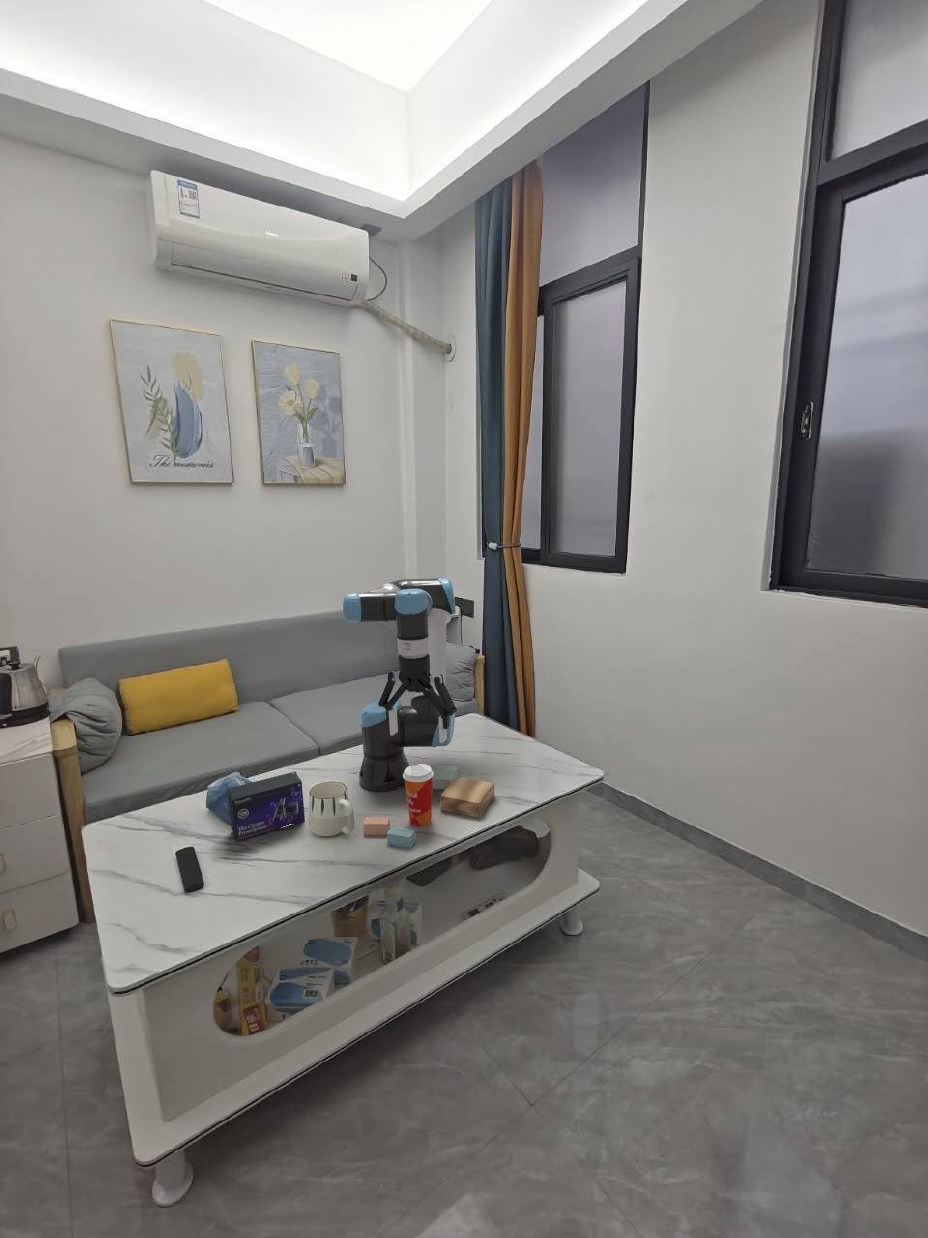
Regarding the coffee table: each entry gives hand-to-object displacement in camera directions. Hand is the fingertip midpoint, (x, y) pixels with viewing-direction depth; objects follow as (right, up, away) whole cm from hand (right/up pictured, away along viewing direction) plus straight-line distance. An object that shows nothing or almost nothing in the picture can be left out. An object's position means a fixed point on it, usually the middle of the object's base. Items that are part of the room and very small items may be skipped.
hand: (418, 737), depth 142 cm
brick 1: (-10, -24, +1) cm, 26 cm away
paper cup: (0, -22, +5) cm, 23 cm away
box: (-38, -24, +4) cm, 45 cm away
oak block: (+12, -20, +12) cm, 27 cm away
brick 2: (-4, -24, -4) cm, 25 cm away
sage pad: (+4, -18, +24) cm, 30 cm away
